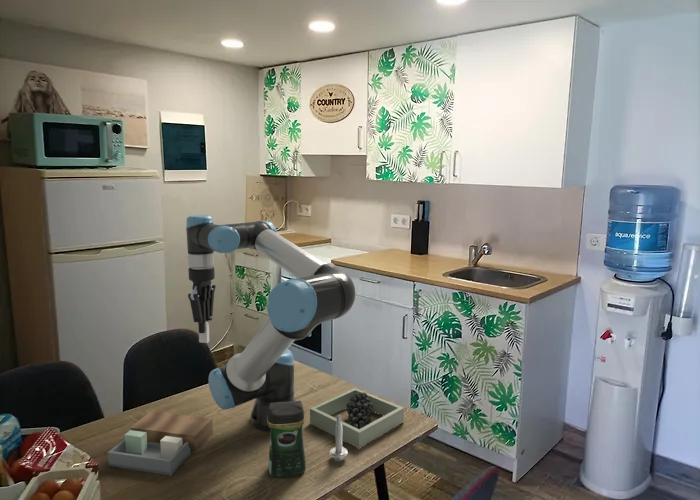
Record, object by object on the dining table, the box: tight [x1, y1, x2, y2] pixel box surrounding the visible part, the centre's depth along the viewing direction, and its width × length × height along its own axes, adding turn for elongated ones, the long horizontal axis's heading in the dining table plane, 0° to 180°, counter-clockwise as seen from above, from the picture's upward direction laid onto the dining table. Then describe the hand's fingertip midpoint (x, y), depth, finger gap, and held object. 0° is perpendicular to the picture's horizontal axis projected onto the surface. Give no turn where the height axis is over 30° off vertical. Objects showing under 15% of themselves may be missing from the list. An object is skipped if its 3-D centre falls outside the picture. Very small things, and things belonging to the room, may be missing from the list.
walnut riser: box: [129, 410, 214, 453], centre depth 148 cm, size 20×10×5 cm, turn 78°
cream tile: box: [160, 436, 183, 459], centre depth 138 cm, size 5×5×2 cm
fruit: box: [346, 391, 375, 429], centre depth 157 cm, size 9×8×15 cm
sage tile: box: [124, 429, 148, 454], centre depth 140 cm, size 5×5×2 cm
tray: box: [107, 438, 192, 477], centre depth 137 cm, size 18×10×4 cm, turn 78°
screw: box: [329, 413, 349, 462], centre depth 138 cm, size 13×5×5 cm
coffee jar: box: [267, 400, 307, 478], centre depth 132 cm, size 10×8×19 cm
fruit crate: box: [309, 387, 405, 449], centre depth 158 cm, size 20×20×5 cm
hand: (204, 341), depth 158 cm, fingers closed
